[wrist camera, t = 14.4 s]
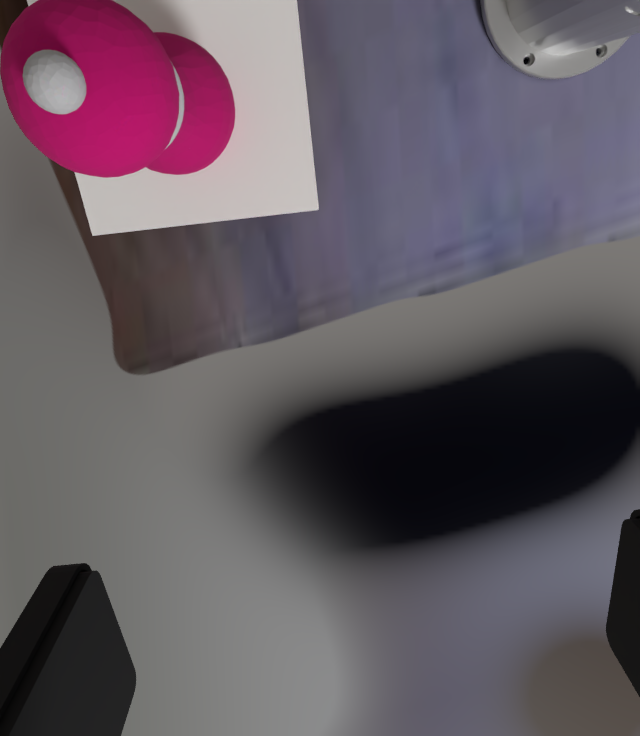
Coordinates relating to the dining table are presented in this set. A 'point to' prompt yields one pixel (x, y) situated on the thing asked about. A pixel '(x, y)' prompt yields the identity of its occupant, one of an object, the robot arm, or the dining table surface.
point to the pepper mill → (113, 91)
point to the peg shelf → (251, 129)
